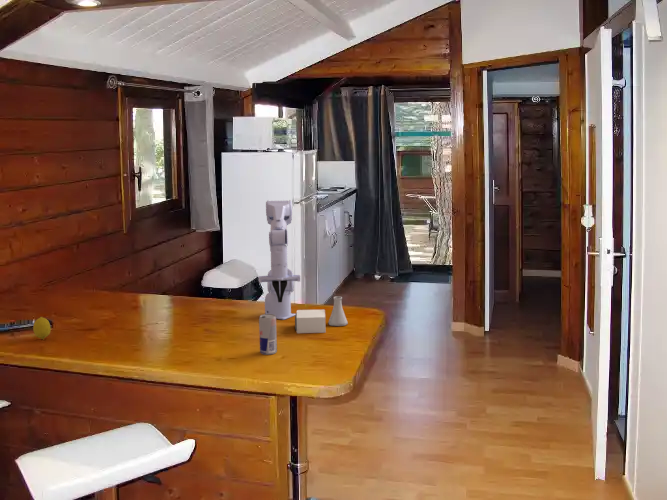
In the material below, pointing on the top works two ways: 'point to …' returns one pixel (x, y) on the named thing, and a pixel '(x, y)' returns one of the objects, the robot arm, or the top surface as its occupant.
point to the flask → (337, 314)
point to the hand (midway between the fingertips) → (280, 301)
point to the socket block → (310, 321)
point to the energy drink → (267, 334)
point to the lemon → (41, 328)
